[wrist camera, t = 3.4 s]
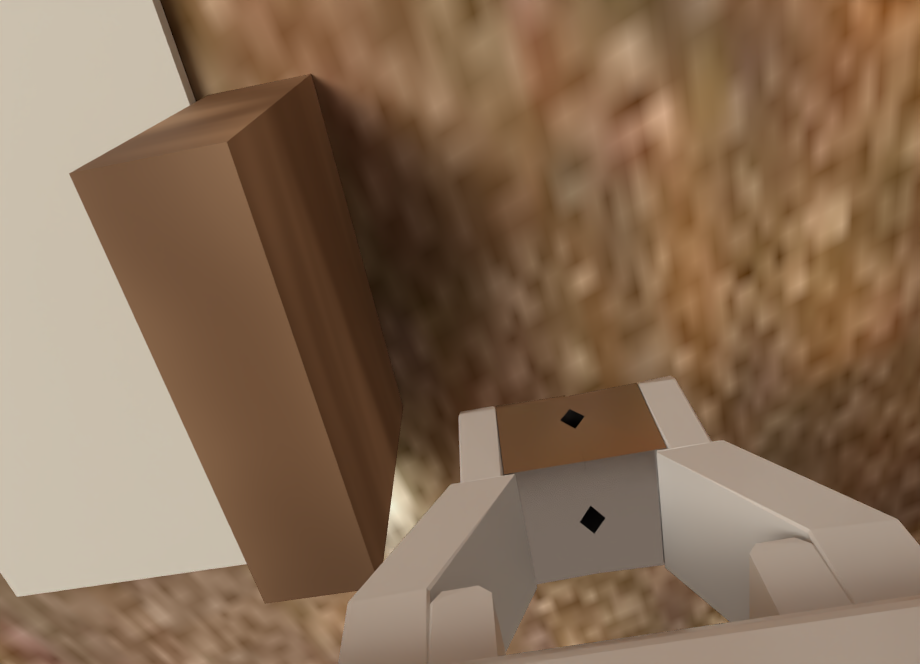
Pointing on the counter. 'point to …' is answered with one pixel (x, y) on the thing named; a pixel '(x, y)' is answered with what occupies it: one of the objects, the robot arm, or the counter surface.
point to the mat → (86, 316)
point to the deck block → (260, 326)
